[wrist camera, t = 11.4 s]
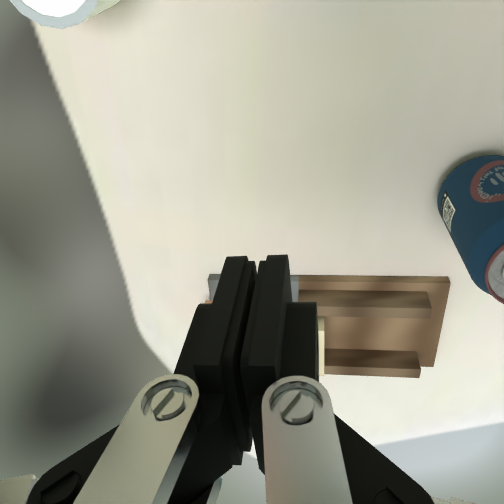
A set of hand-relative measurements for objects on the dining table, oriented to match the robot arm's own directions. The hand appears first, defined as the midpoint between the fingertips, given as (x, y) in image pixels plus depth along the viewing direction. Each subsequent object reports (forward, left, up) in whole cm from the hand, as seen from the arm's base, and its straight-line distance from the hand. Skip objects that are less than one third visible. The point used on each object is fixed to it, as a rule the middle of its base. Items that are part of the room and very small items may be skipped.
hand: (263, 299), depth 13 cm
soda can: (-15, +9, -27) cm, 32 cm away
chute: (-2, +24, -26) cm, 36 cm away
